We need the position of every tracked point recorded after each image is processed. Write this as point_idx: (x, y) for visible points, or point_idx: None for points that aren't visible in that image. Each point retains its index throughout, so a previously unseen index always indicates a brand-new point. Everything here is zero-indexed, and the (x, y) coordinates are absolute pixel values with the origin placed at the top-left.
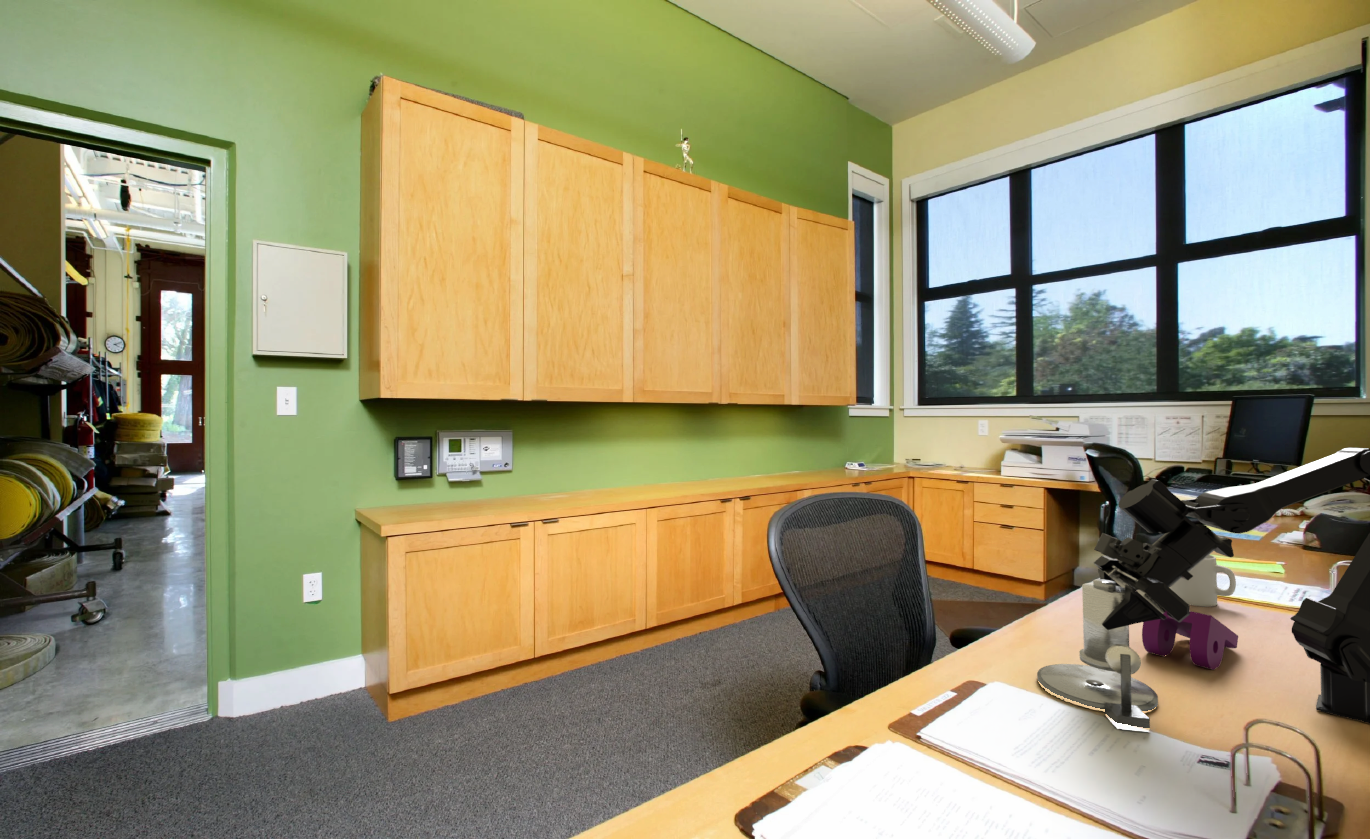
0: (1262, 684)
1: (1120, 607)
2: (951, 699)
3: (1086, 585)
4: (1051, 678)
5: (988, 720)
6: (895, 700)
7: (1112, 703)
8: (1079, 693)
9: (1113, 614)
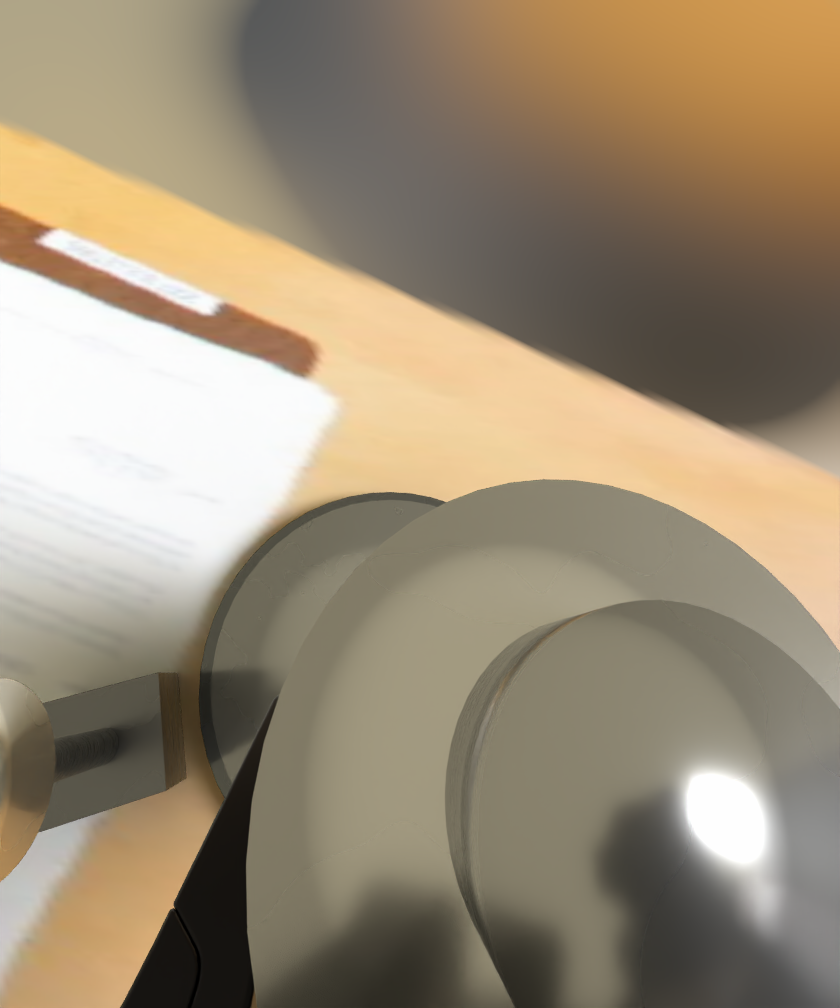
0: None
1: (159, 962)
2: (163, 303)
3: (608, 532)
4: (373, 528)
5: (48, 370)
6: (115, 206)
7: (156, 700)
8: (271, 601)
9: (219, 814)
